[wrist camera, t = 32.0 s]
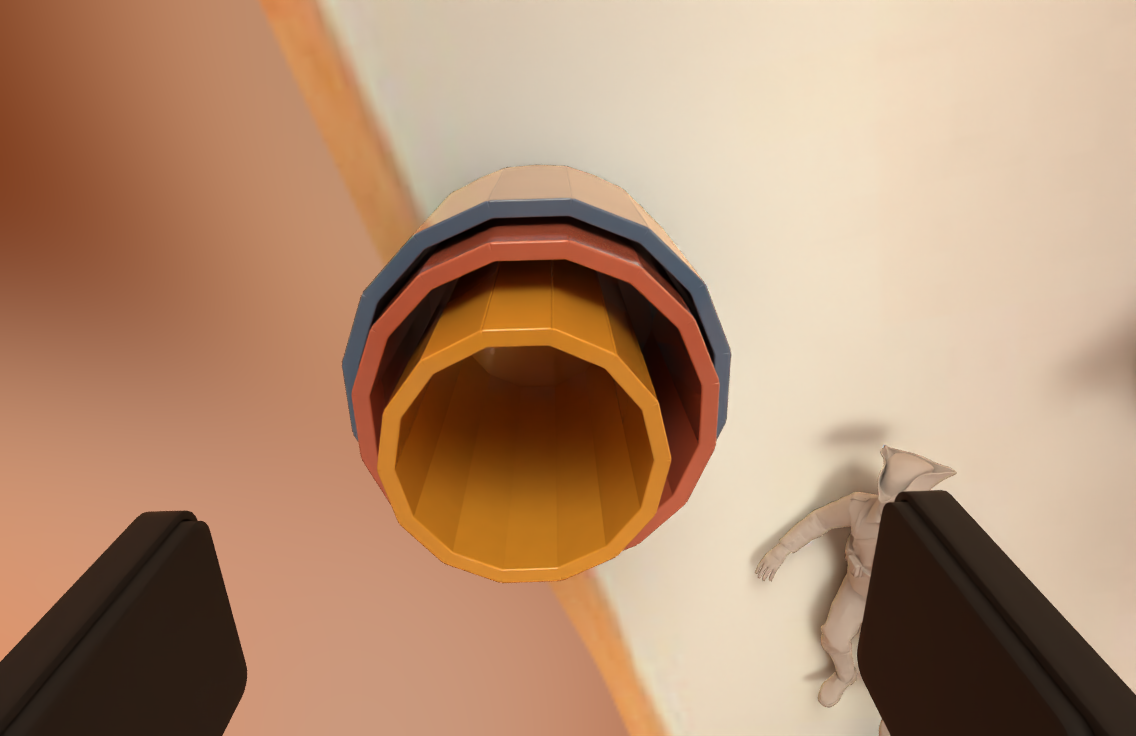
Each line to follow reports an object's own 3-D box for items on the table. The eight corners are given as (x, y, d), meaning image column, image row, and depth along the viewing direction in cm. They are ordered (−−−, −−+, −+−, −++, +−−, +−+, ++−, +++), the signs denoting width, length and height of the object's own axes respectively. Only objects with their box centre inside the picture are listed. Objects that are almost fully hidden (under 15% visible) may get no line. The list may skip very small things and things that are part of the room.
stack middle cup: (407, 187, 22) (327, 247, 14) (665, 180, 22) (729, 235, 14) (433, 419, 25) (378, 575, 17) (658, 411, 25) (708, 564, 17)
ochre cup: (438, 227, 22) (356, 334, 13) (623, 221, 22) (676, 323, 13) (454, 392, 24) (393, 587, 15) (622, 386, 24) (667, 577, 15)
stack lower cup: (386, 168, 22) (315, 205, 15) (684, 160, 22) (742, 193, 15) (418, 434, 25) (371, 557, 19) (675, 426, 25) (718, 545, 19)
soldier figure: (751, 663, 31) (737, 491, 23) (804, 580, 33) (808, 399, 25) (939, 781, 26) (1001, 616, 18) (985, 675, 28) (1057, 489, 21)
